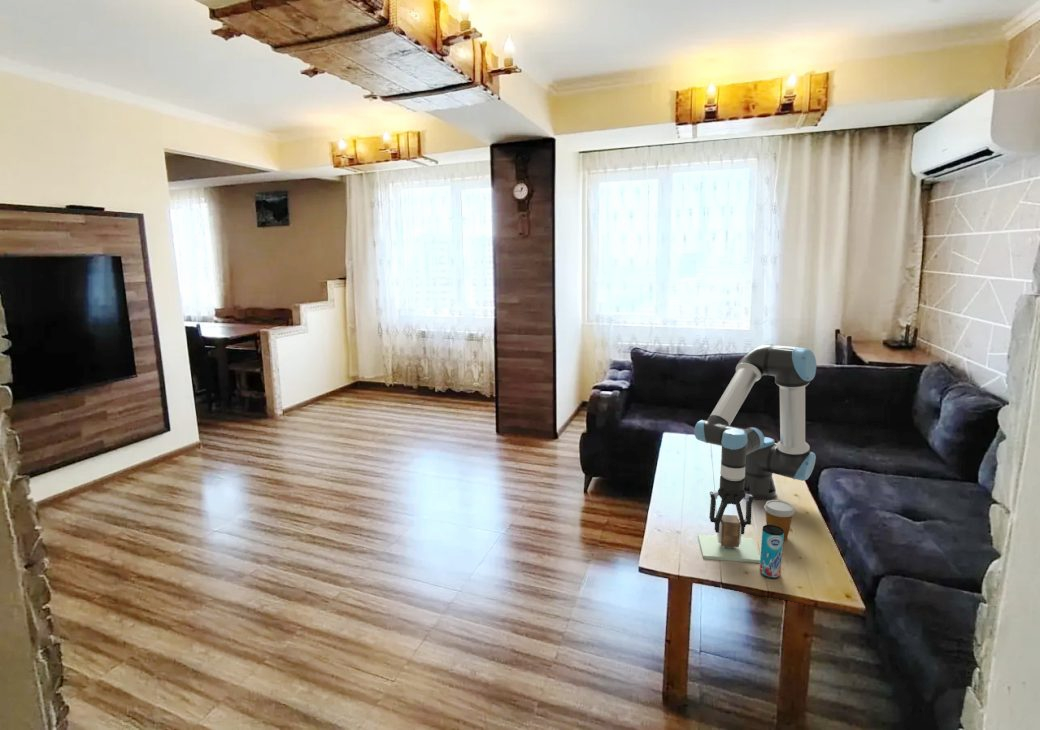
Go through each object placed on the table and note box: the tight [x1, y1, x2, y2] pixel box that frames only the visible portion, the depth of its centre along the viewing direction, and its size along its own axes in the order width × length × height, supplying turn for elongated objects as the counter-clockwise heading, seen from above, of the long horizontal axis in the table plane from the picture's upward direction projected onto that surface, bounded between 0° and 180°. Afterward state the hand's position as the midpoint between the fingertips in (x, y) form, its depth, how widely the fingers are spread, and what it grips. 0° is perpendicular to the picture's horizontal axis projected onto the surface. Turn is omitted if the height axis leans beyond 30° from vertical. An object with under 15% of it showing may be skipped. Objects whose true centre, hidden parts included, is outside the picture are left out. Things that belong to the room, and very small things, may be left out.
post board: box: [697, 534, 761, 564], centre depth 180 cm, size 18×14×7 cm
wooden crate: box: [721, 514, 740, 547], centre depth 180 cm, size 5×5×9 cm
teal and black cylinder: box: [759, 524, 784, 580], centre depth 165 cm, size 6×6×15 cm
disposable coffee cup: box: [763, 499, 796, 543], centre depth 187 cm, size 10×10×12 cm
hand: (728, 541), depth 180 cm, fingers closed on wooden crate, 5 cm apart
